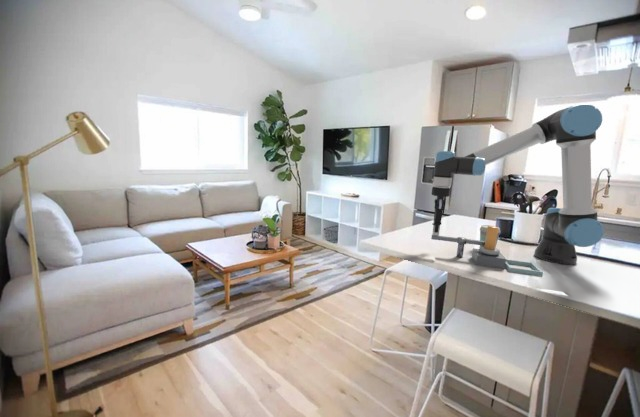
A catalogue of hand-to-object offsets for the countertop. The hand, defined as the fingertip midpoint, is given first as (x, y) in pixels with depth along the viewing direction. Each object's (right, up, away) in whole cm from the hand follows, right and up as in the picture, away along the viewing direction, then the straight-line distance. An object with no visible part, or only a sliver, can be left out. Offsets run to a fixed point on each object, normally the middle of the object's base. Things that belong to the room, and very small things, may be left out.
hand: (435, 238), depth 136 cm
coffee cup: (+26, -7, +5) cm, 27 cm away
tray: (+26, -11, -19) cm, 34 cm away
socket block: (+12, -9, -12) cm, 20 cm away
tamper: (+16, -8, -14) cm, 23 cm away
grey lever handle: (+7, -8, -8) cm, 13 cm away
